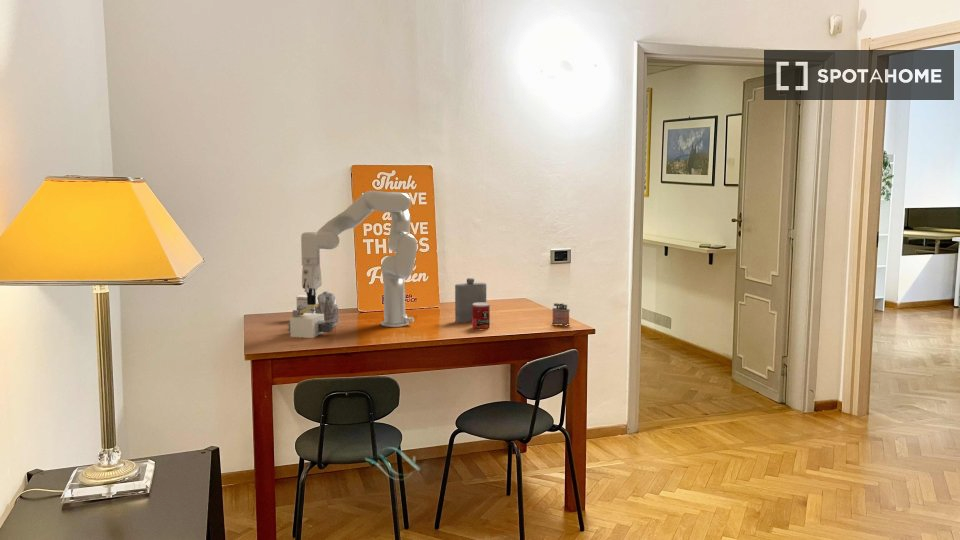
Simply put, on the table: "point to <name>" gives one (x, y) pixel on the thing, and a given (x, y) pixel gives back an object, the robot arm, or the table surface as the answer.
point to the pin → (320, 327)
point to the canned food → (481, 315)
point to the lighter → (560, 314)
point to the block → (304, 324)
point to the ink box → (304, 303)
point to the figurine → (327, 308)
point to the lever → (307, 308)
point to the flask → (468, 299)
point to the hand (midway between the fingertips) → (311, 304)
